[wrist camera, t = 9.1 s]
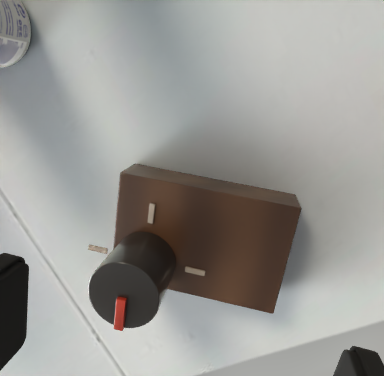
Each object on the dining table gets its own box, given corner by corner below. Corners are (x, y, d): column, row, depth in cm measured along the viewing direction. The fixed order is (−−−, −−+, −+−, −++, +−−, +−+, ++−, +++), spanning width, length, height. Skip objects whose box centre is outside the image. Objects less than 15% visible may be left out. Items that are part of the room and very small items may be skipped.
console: (295, 194, 24) (302, 209, 21) (264, 314, 27) (266, 342, 24) (112, 158, 25) (93, 167, 22) (102, 276, 28) (85, 297, 25)
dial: (118, 225, 23) (87, 257, 19) (179, 238, 23) (162, 274, 18) (114, 279, 25) (83, 322, 20) (171, 292, 24) (153, 339, 20)
